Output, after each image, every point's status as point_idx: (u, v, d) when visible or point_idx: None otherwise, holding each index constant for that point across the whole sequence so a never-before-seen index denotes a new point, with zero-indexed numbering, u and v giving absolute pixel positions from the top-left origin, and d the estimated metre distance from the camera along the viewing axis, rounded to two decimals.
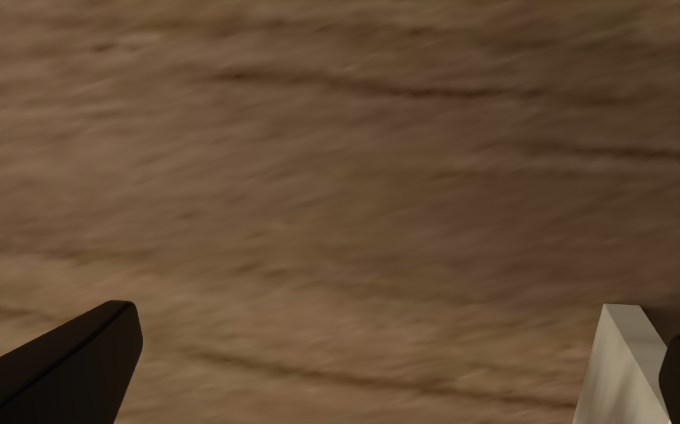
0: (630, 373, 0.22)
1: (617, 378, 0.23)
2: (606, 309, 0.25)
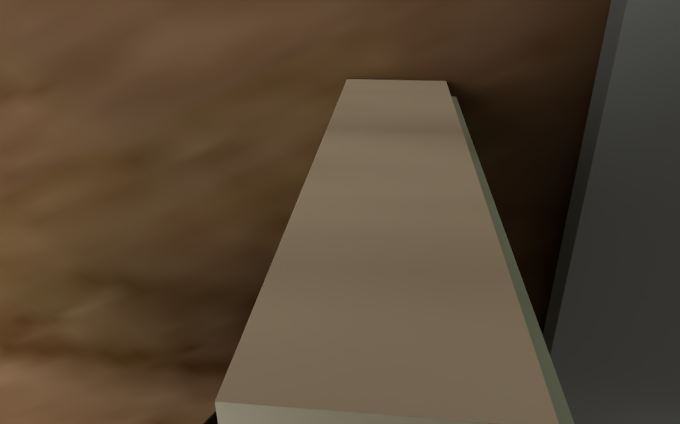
0: None
1: None
2: (344, 86, 0.08)
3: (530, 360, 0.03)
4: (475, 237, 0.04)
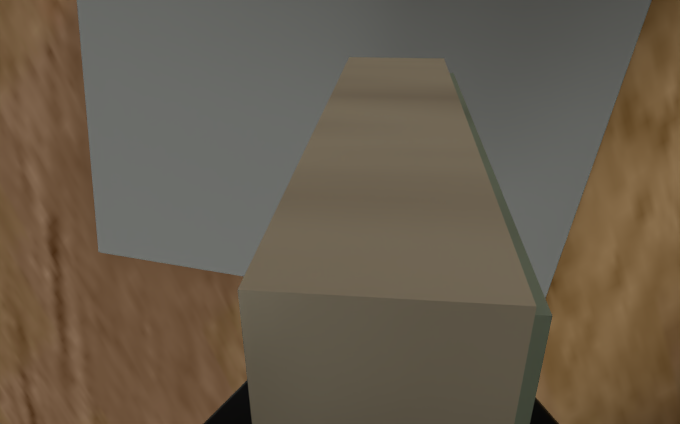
0: None
1: None
2: (347, 63, 0.09)
3: (513, 261, 0.03)
4: (468, 176, 0.04)
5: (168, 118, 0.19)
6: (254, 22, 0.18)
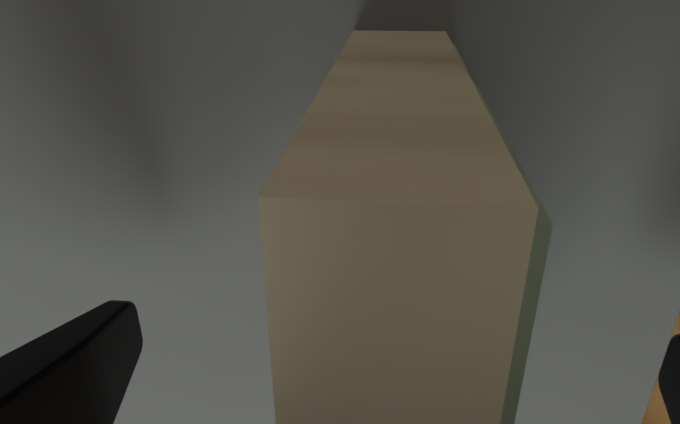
0: None
1: None
2: (351, 35, 0.09)
3: (516, 176, 0.03)
4: (472, 117, 0.05)
5: (17, 305, 0.13)
6: (104, 165, 0.11)
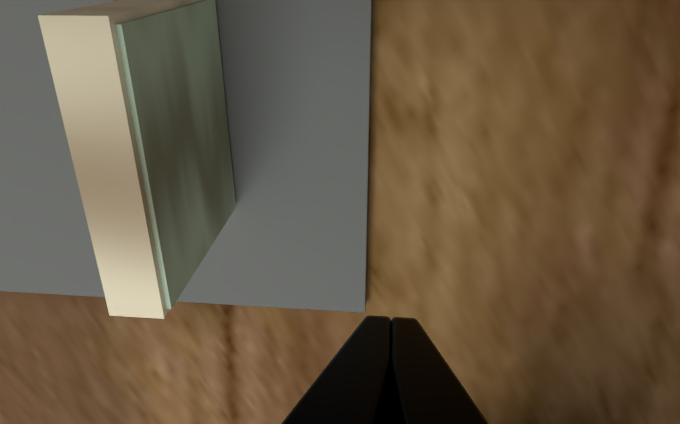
0: None
1: None
2: None
3: (115, 12, 0.12)
4: (136, 7, 0.13)
5: None
6: (40, 71, 0.20)
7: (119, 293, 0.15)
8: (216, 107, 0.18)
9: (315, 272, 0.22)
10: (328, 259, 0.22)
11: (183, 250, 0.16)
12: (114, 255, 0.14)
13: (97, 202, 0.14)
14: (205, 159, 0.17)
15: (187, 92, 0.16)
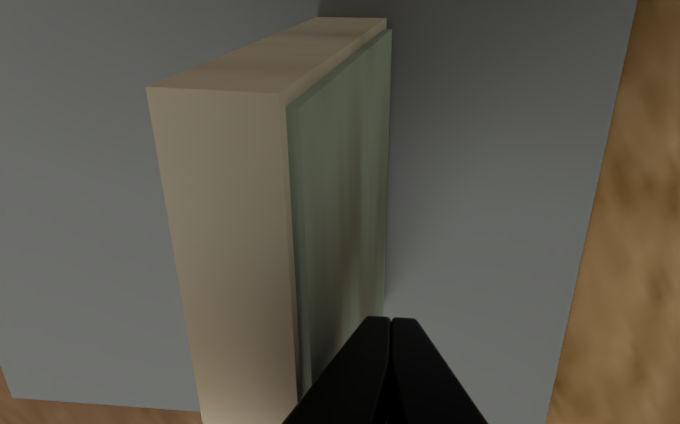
0: None
1: None
2: (311, 20, 0.12)
3: (287, 82, 0.06)
4: (310, 61, 0.07)
5: (50, 248, 0.16)
6: (124, 128, 0.14)
7: None
8: (380, 188, 0.12)
9: (482, 388, 0.16)
10: (502, 372, 0.16)
11: None
12: None
13: (220, 388, 0.08)
14: (366, 272, 0.12)
15: (359, 184, 0.10)
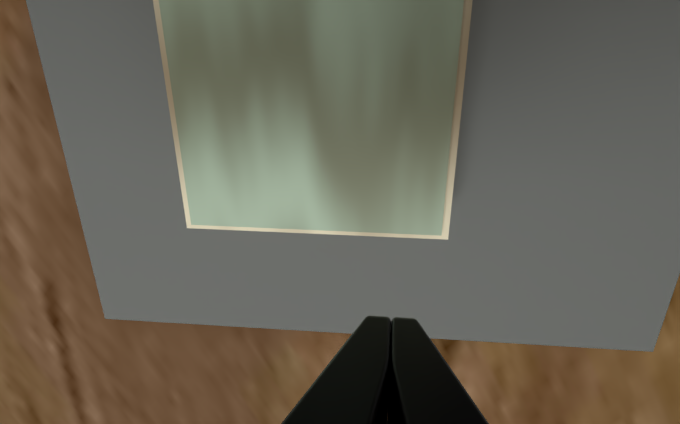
0: None
1: None
2: None
3: None
4: None
5: (164, 151, 0.15)
6: None
7: None
8: (411, 68, 0.12)
9: (598, 299, 0.16)
10: (621, 281, 0.16)
11: (236, 188, 0.14)
12: None
13: None
14: (339, 121, 0.13)
15: (304, 15, 0.12)
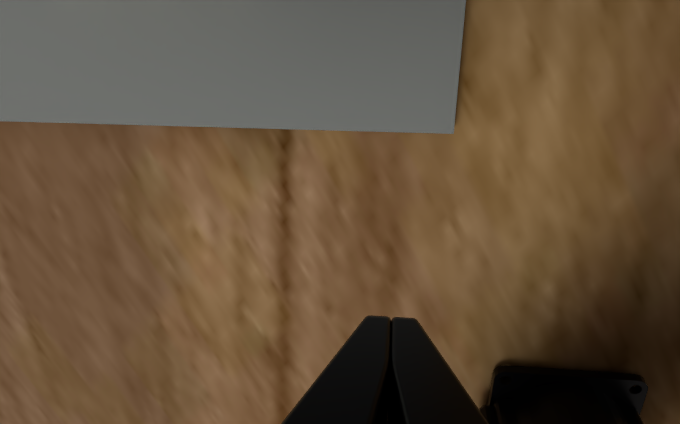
0: None
1: None
2: None
3: None
4: None
5: None
6: None
7: None
8: None
9: (397, 79, 0.18)
10: (414, 59, 0.18)
11: None
12: None
13: None
14: None
15: None
